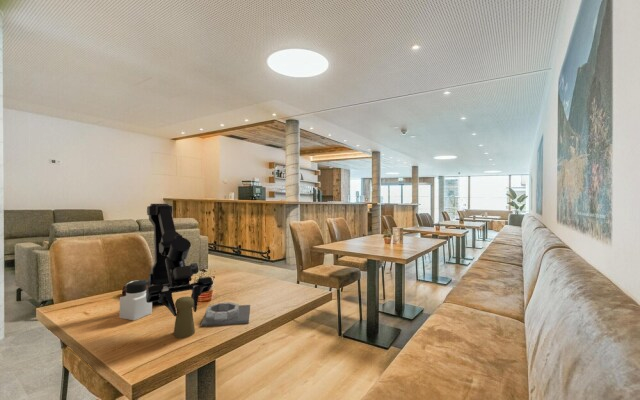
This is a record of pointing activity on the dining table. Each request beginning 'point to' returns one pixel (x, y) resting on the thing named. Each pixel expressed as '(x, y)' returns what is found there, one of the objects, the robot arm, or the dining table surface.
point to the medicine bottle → (135, 301)
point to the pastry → (125, 288)
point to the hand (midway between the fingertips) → (185, 313)
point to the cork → (184, 318)
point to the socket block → (226, 314)
